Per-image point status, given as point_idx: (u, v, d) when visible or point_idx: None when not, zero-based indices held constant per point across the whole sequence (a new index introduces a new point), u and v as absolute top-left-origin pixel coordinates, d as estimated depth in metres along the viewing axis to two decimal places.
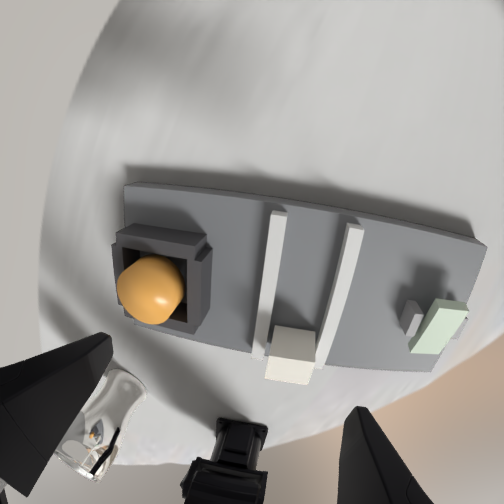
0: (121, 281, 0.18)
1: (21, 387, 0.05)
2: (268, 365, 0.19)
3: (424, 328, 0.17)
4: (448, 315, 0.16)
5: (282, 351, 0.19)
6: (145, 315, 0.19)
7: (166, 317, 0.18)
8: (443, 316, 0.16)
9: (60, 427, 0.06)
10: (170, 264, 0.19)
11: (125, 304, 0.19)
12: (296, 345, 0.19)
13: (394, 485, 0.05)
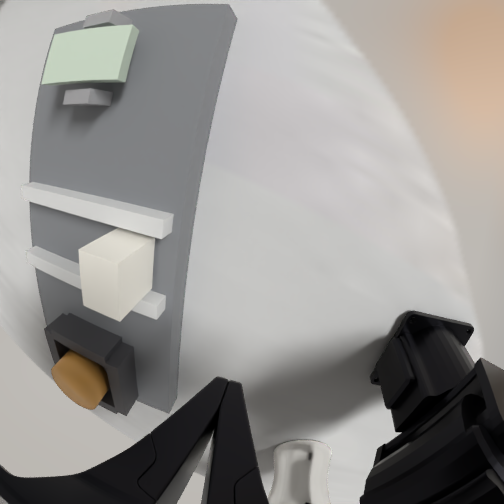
0: (69, 396, 0.17)
1: (169, 472, 0.04)
2: (97, 310, 0.12)
3: (75, 81, 0.10)
4: (54, 61, 0.09)
5: None
6: (87, 397, 0.16)
7: (79, 382, 0.15)
8: (54, 68, 0.09)
9: (183, 488, 0.06)
10: (66, 353, 0.17)
11: (87, 406, 0.16)
12: None
13: (229, 469, 0.05)
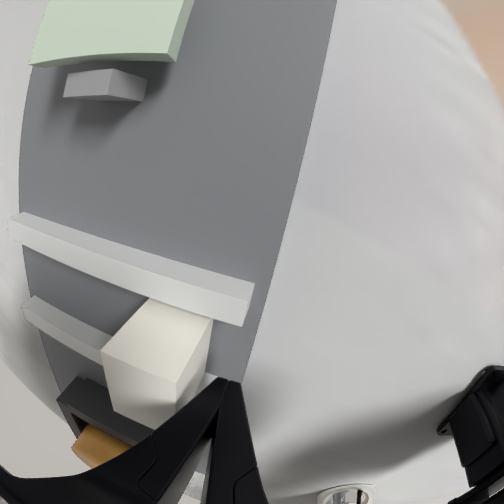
0: None
1: (170, 472, 0.04)
2: (137, 420, 0.08)
3: (86, 57, 0.05)
4: (51, 27, 0.05)
5: None
6: None
7: None
8: (50, 38, 0.05)
9: (184, 488, 0.06)
10: (87, 425, 0.13)
11: None
12: None
13: (228, 469, 0.05)
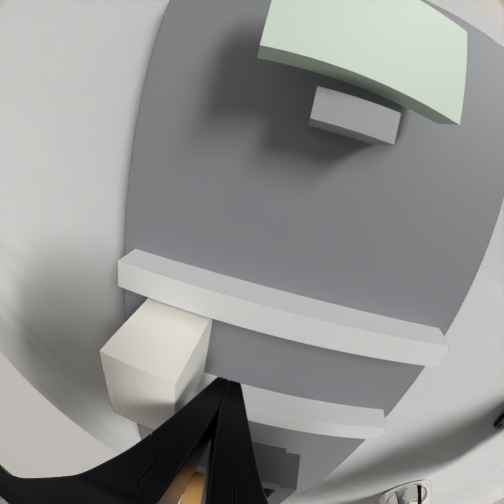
0: None
1: (170, 472, 0.04)
2: (136, 420, 0.08)
3: (366, 80, 0.05)
4: (301, 5, 0.04)
5: None
6: None
7: None
8: (304, 21, 0.04)
9: (183, 488, 0.06)
10: (196, 474, 0.12)
11: None
12: None
13: (228, 469, 0.05)
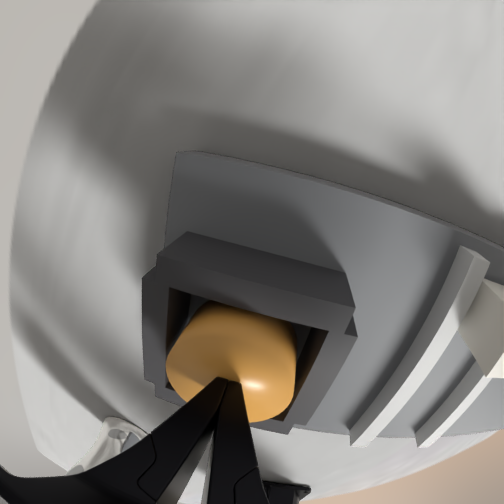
0: (180, 353, 0.08)
1: (169, 472, 0.04)
2: None
3: None
4: None
5: None
6: None
7: (268, 416, 0.09)
8: None
9: (183, 488, 0.06)
10: (282, 320, 0.10)
11: (180, 388, 0.09)
12: None
13: (229, 470, 0.05)
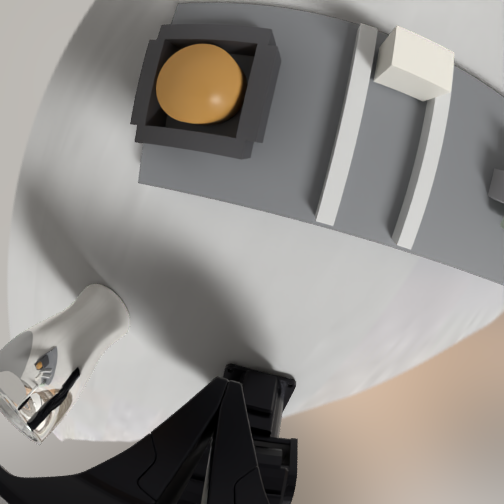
0: (168, 65, 0.12)
1: (169, 472, 0.04)
2: (396, 41, 0.09)
3: None
4: None
5: None
6: (189, 109, 0.12)
7: (222, 107, 0.12)
8: None
9: (183, 488, 0.06)
10: None
11: (162, 98, 0.12)
12: None
13: (229, 469, 0.05)
